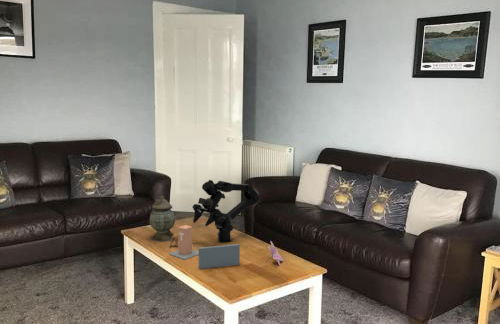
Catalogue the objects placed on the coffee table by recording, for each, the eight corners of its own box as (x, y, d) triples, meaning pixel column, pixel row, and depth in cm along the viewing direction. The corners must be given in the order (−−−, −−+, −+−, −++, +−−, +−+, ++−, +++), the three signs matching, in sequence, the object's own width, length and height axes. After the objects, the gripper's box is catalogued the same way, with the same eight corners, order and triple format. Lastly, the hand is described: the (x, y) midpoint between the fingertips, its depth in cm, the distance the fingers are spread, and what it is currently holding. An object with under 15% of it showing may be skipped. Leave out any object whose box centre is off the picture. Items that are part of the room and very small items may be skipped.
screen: (238, 263, 226) (238, 244, 224) (239, 264, 224) (239, 245, 223) (198, 267, 220) (198, 247, 218) (199, 268, 218) (199, 248, 217)
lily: (269, 270, 220) (280, 254, 218) (253, 255, 227) (263, 240, 225) (282, 271, 229) (292, 255, 228) (267, 256, 236) (276, 241, 235)
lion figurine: (188, 241, 259) (188, 225, 257) (194, 243, 255) (194, 227, 254) (166, 247, 248) (166, 231, 247) (172, 249, 245) (172, 233, 243)
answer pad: (186, 248, 246) (186, 247, 246) (201, 253, 239) (201, 252, 239) (168, 254, 237) (168, 253, 237) (184, 260, 230) (184, 258, 229)
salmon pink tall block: (185, 250, 241) (185, 224, 239) (192, 252, 238) (192, 226, 236) (178, 253, 237) (177, 227, 235) (184, 255, 234) (184, 229, 232)
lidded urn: (170, 242, 256) (169, 199, 252) (146, 240, 258) (145, 197, 255) (179, 235, 269) (178, 193, 265) (156, 233, 272) (155, 192, 268)
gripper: (194, 189, 252) (179, 212, 245) (219, 194, 240) (204, 219, 233) (204, 200, 259) (190, 223, 252) (229, 206, 247) (215, 230, 240)
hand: (199, 224), depth 244 cm, fingers open, 9 cm apart
